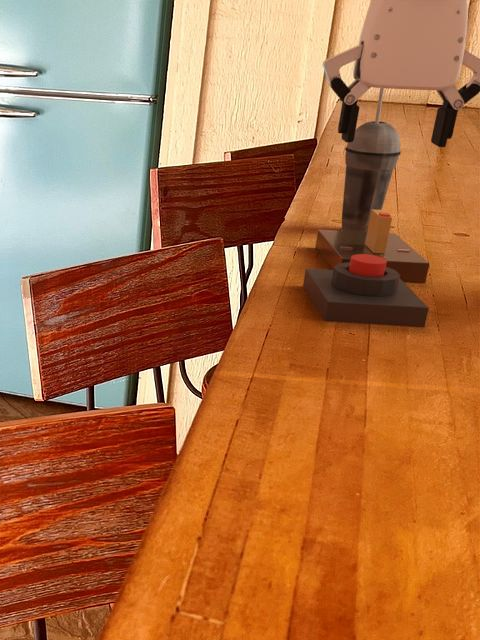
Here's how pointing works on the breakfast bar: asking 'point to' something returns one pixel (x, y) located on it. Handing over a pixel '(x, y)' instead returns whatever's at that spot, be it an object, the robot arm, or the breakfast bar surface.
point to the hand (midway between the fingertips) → (392, 142)
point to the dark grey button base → (364, 297)
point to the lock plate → (350, 243)
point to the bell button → (367, 265)
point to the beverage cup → (368, 170)
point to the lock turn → (378, 231)
